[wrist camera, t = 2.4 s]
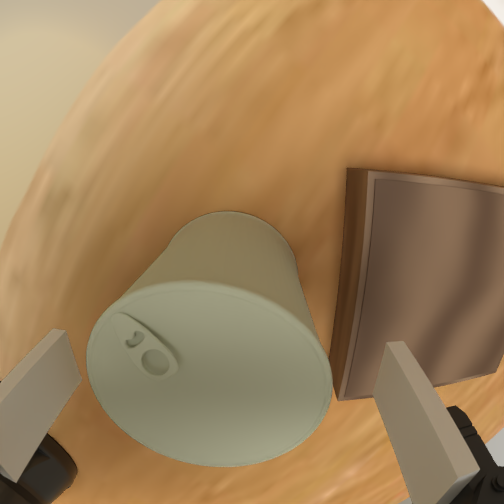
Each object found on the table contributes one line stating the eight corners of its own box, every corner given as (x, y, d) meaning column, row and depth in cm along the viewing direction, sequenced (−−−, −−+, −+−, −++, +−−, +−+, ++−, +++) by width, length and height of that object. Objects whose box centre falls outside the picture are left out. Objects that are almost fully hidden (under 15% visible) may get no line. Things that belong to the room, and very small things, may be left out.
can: (237, 180, 19) (209, 217, 8) (324, 288, 21) (380, 415, 10) (136, 268, 21) (41, 371, 10) (222, 357, 23) (201, 493, 12)
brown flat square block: (327, 367, 23) (338, 402, 19) (346, 167, 19) (368, 171, 15) (474, 349, 23) (496, 373, 19) (509, 188, 19) (542, 196, 15)
